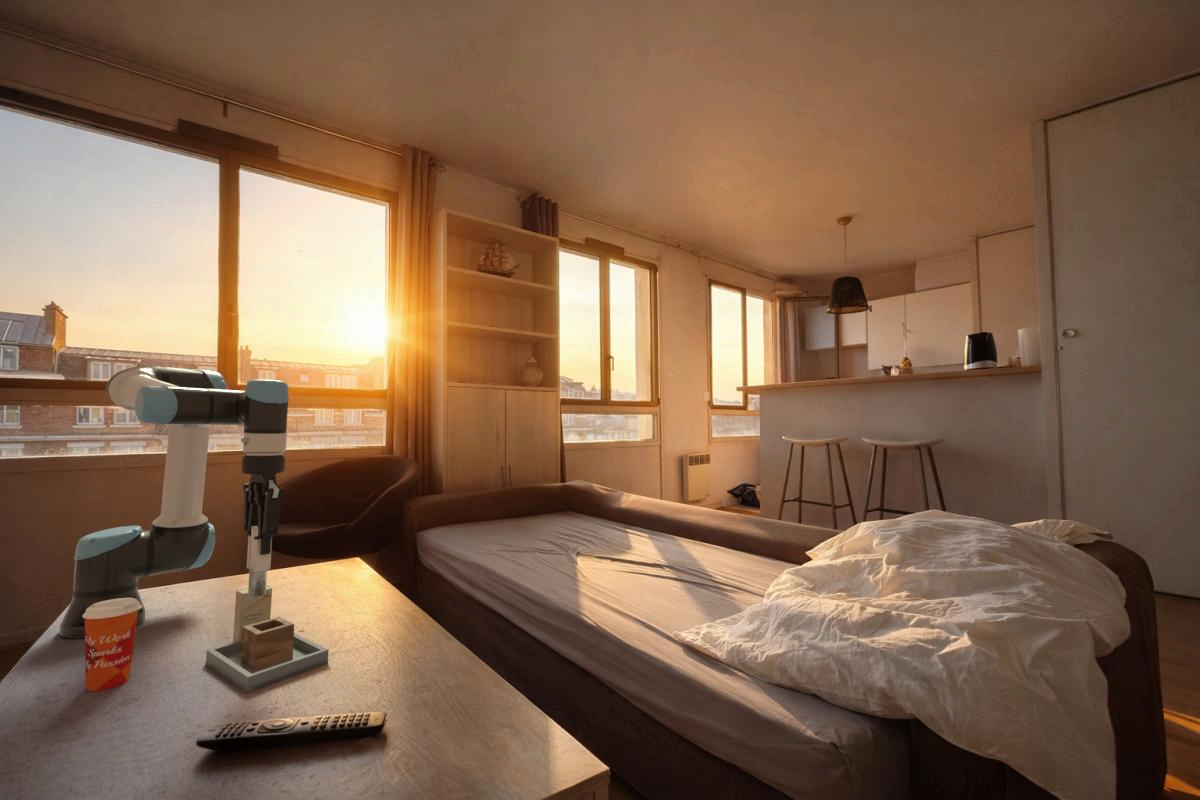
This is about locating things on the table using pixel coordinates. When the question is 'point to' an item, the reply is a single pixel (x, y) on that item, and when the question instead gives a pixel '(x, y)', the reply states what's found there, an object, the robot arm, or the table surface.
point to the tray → (249, 679)
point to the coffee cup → (109, 642)
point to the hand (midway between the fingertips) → (258, 568)
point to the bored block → (267, 643)
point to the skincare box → (250, 610)
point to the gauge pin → (255, 578)
